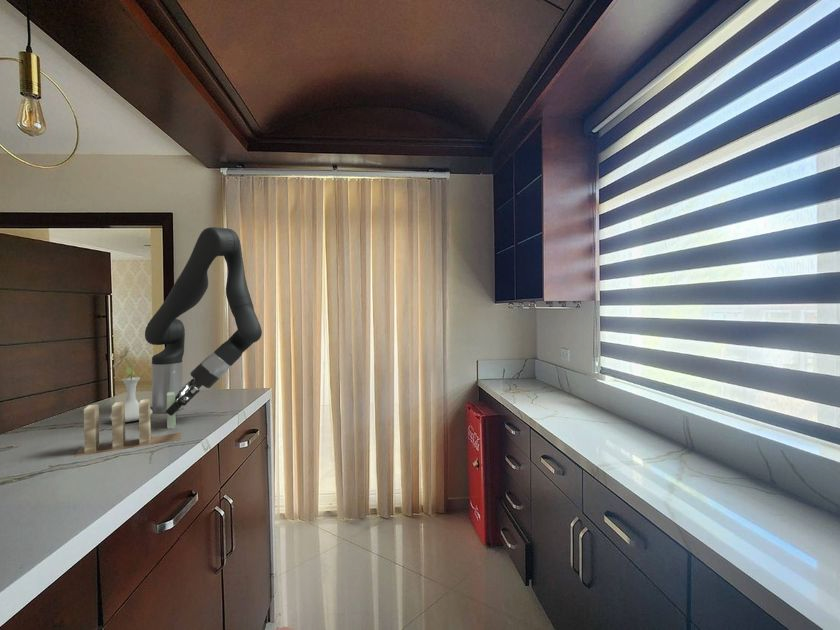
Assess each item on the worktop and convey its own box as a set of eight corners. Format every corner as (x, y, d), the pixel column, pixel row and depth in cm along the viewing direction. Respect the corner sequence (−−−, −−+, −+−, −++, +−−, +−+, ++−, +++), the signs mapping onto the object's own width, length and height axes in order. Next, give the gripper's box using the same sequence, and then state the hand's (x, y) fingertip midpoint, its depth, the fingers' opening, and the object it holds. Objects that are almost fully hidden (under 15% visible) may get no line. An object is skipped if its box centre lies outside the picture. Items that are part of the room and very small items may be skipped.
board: (73, 460, 91) (73, 456, 91) (81, 451, 97) (81, 447, 97) (180, 443, 102) (180, 439, 102) (181, 436, 108) (181, 432, 108)
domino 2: (139, 445, 98) (138, 403, 98) (141, 439, 103) (141, 399, 102) (148, 443, 99) (148, 402, 99) (150, 438, 104) (150, 398, 103)
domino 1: (112, 449, 95) (111, 406, 95) (115, 443, 100) (115, 402, 100) (122, 447, 97) (121, 405, 96) (125, 441, 101) (124, 401, 101)
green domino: (167, 431, 112) (166, 395, 112) (168, 427, 117) (167, 392, 116) (175, 430, 113) (174, 394, 113) (175, 426, 118) (175, 391, 117)
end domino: (84, 453, 93) (83, 409, 92) (89, 447, 97) (88, 405, 97) (95, 452, 94) (94, 408, 93) (99, 445, 98) (98, 404, 98)
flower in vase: (115, 417, 127) (114, 344, 127) (156, 413, 132) (155, 342, 131) (102, 428, 115) (101, 348, 115) (147, 423, 120) (146, 346, 120)
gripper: (201, 359, 125) (159, 398, 119) (202, 365, 113) (156, 408, 107) (219, 374, 128) (179, 412, 122) (222, 380, 116) (178, 423, 110)
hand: (168, 410), depth 114 cm, fingers open, 8 cm apart
